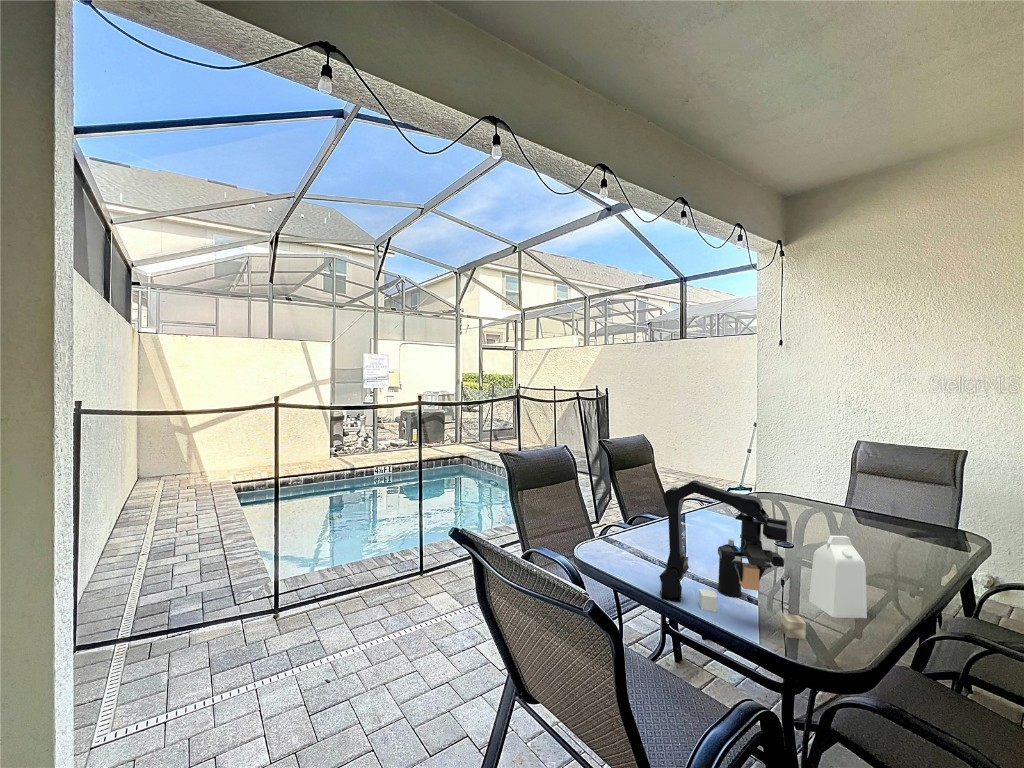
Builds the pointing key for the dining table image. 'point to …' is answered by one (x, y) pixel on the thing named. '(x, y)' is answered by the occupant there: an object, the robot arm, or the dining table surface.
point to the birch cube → (793, 626)
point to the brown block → (750, 577)
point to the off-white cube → (708, 600)
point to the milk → (839, 579)
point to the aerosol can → (729, 575)
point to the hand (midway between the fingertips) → (748, 582)
